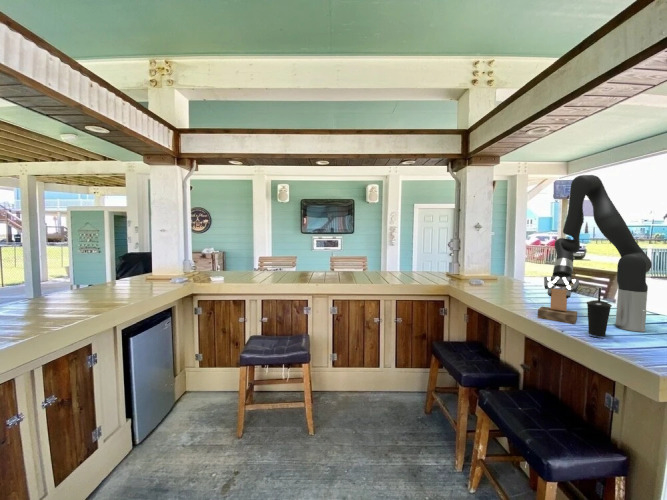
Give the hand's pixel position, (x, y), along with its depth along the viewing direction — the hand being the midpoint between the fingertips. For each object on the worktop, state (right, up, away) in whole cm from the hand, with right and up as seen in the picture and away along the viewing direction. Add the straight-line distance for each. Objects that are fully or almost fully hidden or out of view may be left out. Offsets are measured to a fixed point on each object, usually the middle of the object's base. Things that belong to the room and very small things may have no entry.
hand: (558, 296), depth 142 cm
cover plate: (+1, -7, +2) cm, 7 cm away
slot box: (+1, -12, +2) cm, 12 cm away
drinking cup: (+1, -14, -20) cm, 24 cm away
